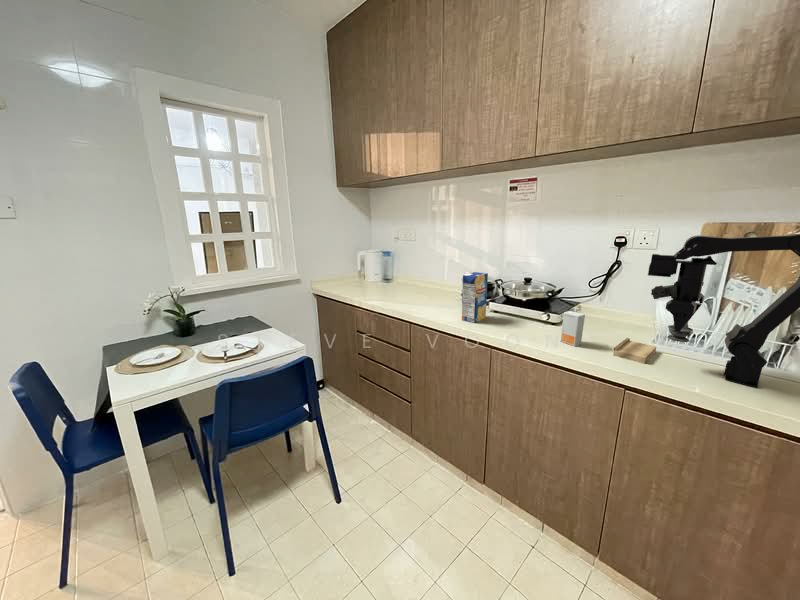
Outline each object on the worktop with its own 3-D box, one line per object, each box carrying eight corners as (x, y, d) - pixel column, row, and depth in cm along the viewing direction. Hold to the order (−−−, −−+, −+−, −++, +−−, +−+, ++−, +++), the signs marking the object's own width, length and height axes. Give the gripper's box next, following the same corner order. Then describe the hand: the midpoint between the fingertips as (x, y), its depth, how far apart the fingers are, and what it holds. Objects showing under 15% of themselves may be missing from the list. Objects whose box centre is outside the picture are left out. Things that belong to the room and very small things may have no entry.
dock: (655, 351, 112) (656, 344, 111) (644, 363, 103) (645, 355, 103) (625, 344, 119) (626, 337, 118) (612, 355, 110) (614, 347, 109)
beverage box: (461, 320, 151) (462, 275, 146) (473, 315, 159) (475, 272, 154) (474, 323, 147) (476, 276, 141) (485, 317, 154) (487, 273, 149)
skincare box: (559, 341, 123) (563, 312, 120) (566, 339, 125) (570, 310, 122) (574, 346, 118) (578, 316, 115) (581, 344, 120) (585, 314, 117)
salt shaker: (690, 338, 99) (698, 301, 96) (691, 343, 95) (699, 305, 92) (665, 334, 103) (672, 298, 100) (665, 339, 98) (673, 302, 95)
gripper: (663, 272, 106) (655, 316, 110) (648, 279, 94) (640, 328, 98) (709, 275, 98) (698, 323, 101) (699, 284, 86) (687, 338, 90)
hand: (680, 328), depth 98 cm, fingers closed on salt shaker, 8 cm apart
